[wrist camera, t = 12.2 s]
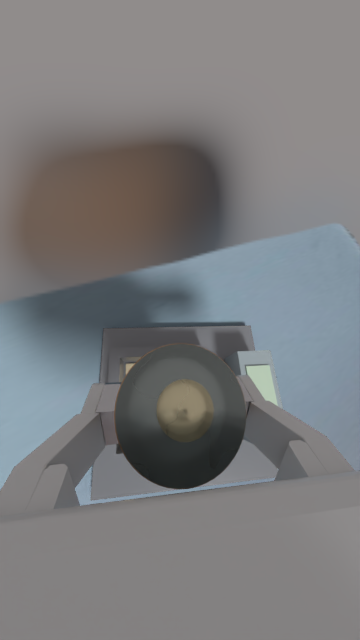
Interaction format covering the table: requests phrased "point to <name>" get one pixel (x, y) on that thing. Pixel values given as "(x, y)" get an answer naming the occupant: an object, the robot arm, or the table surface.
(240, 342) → the tester
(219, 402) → the cell
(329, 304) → the table surface
